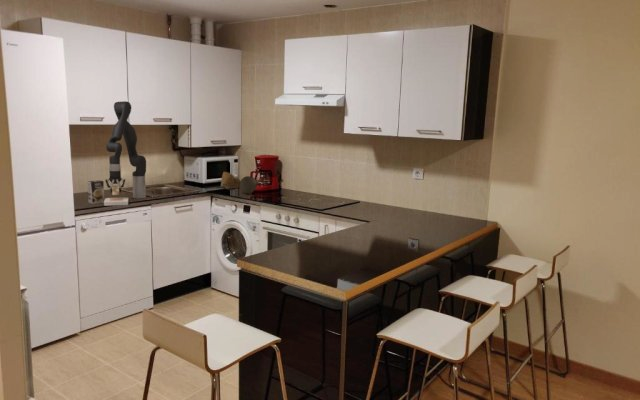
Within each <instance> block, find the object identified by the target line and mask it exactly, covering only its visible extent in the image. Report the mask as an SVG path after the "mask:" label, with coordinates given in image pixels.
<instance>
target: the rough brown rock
mask: <svg viewBox="0 0 640 400" xmlns="http://www.w3.org/2000/svg"><path fill="white" fill-rule="evenodd" d="M240 181H241V180H240V179H239V178H238V177H235V176H234V175H233V174H232V173H230V172H227V171H223V172H222V175H221V180H220V186H221V187H222V188H225V189H226V190H229V189H235V190H236V189H237V190H238V188H240Z"/></svg>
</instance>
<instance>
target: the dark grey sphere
mask: <svg viewBox="0 0 640 400" xmlns="http://www.w3.org/2000/svg"><path fill="white" fill-rule="evenodd" d="M257 185H258V182H257V180H256V179H255V178H254V177H252V176H247V175H246V176H243V178H241V180H240V185H239V189H240V192H241V193H243V194H245V195H248V194H249V195H250V194H252V193H253V192H255V190H256V188H257Z"/></svg>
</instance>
